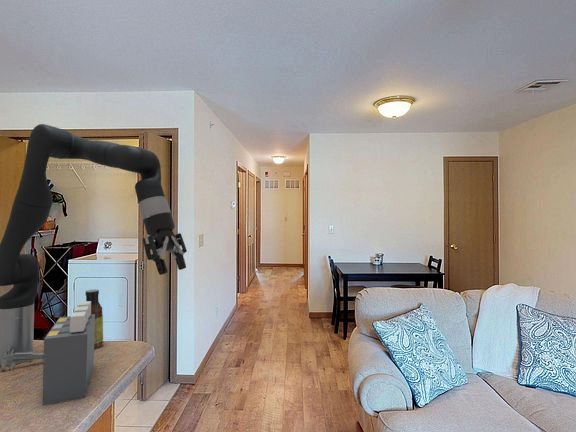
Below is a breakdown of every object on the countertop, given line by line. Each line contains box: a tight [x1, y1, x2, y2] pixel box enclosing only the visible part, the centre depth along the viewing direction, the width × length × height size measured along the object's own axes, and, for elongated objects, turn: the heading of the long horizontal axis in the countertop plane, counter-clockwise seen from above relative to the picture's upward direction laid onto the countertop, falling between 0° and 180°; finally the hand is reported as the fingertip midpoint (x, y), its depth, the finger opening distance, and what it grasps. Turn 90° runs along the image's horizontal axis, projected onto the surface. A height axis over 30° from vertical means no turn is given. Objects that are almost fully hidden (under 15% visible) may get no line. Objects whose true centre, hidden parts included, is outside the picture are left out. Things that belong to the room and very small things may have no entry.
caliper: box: [0, 349, 44, 372], centre depth 102 cm, size 20×1×6 cm, turn 127°
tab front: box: [69, 312, 86, 333], centre depth 86 cm, size 3×4×4 cm
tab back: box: [76, 300, 91, 318], centre depth 96 cm, size 3×4×4 cm
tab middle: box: [73, 306, 89, 324], centre depth 91 cm, size 3×4×4 cm
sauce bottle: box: [84, 288, 104, 350], centre depth 115 cm, size 7×6×20 cm
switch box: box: [41, 314, 95, 406], centre depth 90 cm, size 9×19×16 cm, turn 25°
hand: (173, 271), depth 90 cm, fingers open, 8 cm apart
